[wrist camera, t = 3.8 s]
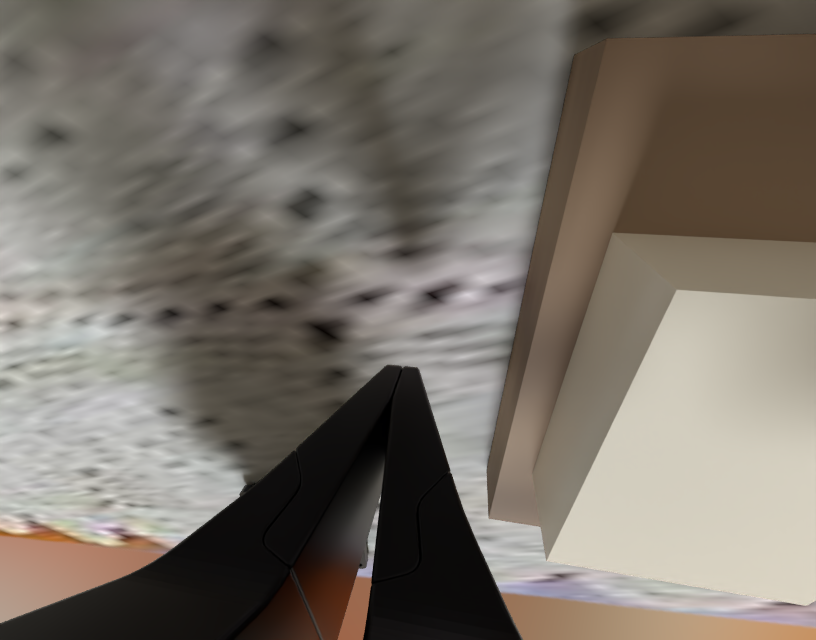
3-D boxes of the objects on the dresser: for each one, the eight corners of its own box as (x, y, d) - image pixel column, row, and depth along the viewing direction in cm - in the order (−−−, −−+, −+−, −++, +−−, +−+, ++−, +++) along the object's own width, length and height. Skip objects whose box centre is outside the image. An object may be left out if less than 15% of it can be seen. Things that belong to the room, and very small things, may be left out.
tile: (738, 503, 10) (806, 606, 8) (532, 474, 11) (546, 561, 9) (978, 250, 6) (1254, 329, 4) (612, 232, 7) (676, 289, 5)
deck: (778, 511, 13) (824, 572, 11) (486, 470, 14) (488, 518, 13) (1291, 43, 5) (1654, 15, 4) (574, 54, 7) (606, 38, 5)
